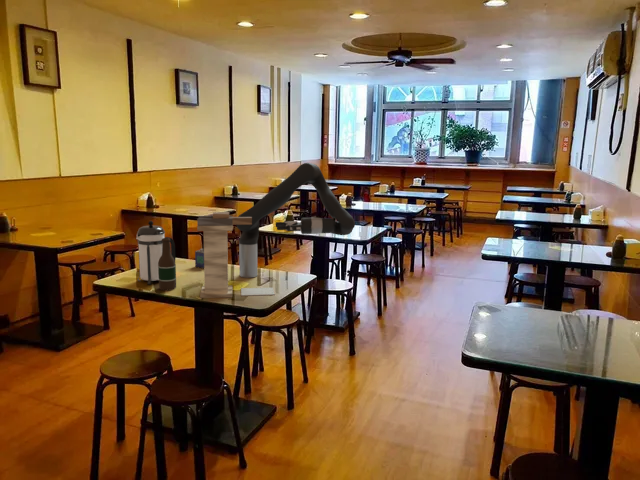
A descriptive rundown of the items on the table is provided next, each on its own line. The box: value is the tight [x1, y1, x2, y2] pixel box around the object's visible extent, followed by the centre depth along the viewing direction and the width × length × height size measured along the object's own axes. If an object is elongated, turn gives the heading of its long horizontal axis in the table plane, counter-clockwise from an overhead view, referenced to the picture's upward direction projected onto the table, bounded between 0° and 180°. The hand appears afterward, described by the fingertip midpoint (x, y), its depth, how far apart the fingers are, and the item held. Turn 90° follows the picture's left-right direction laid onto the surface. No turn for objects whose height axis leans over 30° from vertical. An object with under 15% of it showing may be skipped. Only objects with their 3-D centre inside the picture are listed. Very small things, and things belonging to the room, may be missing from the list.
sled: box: [212, 211, 252, 226], centre depth 221 cm, size 6×17×5 cm, turn 99°
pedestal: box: [196, 215, 234, 299], centre depth 223 cm, size 14×15×35 cm
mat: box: [240, 287, 276, 297], centre depth 229 cm, size 11×15×1 cm
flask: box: [194, 248, 204, 269], centre depth 272 cm, size 9×3×11 cm, turn 63°
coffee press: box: [135, 220, 176, 286], centre depth 243 cm, size 17×16×30 cm
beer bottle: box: [158, 237, 177, 291], centre depth 230 cm, size 8×8×24 cm
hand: (276, 226), depth 225 cm, fingers open, 8 cm apart
